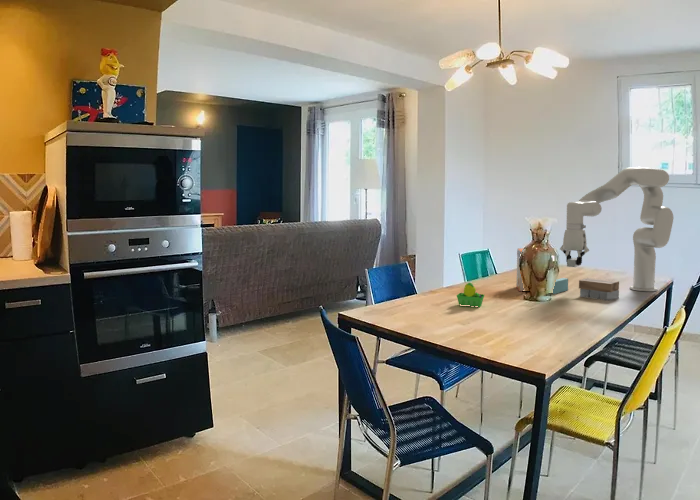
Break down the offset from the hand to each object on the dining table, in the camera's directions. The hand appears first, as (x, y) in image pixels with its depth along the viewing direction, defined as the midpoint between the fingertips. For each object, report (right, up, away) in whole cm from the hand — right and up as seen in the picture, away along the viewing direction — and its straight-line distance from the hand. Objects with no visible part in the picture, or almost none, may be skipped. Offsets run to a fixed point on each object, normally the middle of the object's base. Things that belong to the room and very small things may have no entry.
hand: (574, 263), depth 268 cm
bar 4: (+12, -16, -11) cm, 23 cm away
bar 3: (+9, -16, -8) cm, 19 cm away
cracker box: (-20, -14, +15) cm, 29 cm away
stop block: (-5, -14, +7) cm, 17 cm away
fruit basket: (-56, -19, -22) cm, 63 cm away
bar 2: (+5, -16, -4) cm, 17 cm away
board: (+9, -12, -8) cm, 17 cm away
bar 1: (0, -1, 0) cm, 1 cm away
